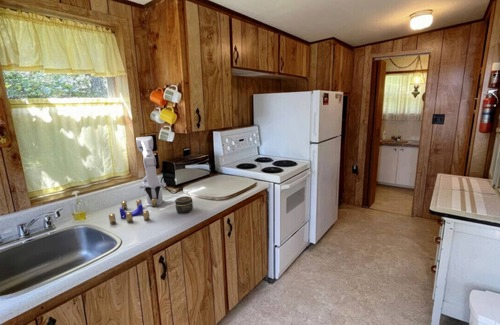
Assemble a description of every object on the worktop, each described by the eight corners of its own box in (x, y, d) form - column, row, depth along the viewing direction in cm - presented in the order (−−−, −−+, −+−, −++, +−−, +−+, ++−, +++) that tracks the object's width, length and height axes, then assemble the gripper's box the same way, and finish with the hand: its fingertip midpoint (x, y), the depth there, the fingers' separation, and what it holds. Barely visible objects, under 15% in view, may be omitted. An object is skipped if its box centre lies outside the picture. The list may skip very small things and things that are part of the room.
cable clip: (142, 211, 158) (141, 202, 157) (143, 214, 154) (142, 204, 153) (120, 216, 153) (119, 206, 151) (121, 219, 149) (119, 209, 147)
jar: (174, 210, 158) (173, 198, 157) (190, 206, 163) (189, 195, 161) (178, 215, 150) (176, 203, 148) (195, 212, 154) (194, 199, 152)
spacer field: (157, 205, 167) (156, 198, 166) (149, 220, 145) (147, 212, 143) (123, 208, 164) (122, 201, 163) (109, 224, 142) (107, 216, 141)
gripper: (136, 179, 146) (139, 202, 149) (163, 177, 148) (165, 200, 151) (140, 176, 153) (143, 198, 156) (165, 174, 155) (167, 196, 158)
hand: (154, 199), depth 154 cm, fingers open, 3 cm apart
